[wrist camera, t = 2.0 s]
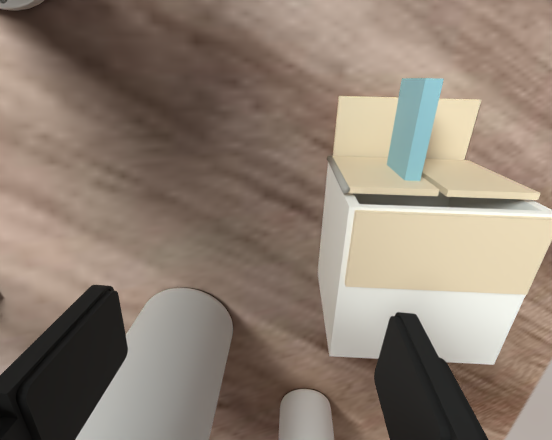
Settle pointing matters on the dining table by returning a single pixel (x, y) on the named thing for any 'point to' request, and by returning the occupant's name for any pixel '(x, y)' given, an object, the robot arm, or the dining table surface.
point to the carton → (426, 242)
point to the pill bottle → (305, 416)
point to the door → (397, 148)
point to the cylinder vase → (167, 372)
